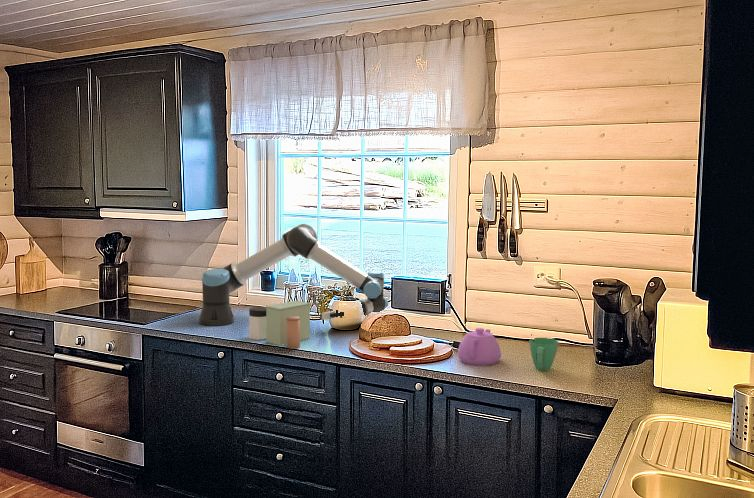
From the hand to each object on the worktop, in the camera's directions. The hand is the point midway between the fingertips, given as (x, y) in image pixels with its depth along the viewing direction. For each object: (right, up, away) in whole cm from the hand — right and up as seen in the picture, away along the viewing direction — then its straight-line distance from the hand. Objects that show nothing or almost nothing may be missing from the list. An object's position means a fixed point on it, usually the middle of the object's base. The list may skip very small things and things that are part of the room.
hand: (323, 316), depth 293 cm
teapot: (+60, -12, -41) cm, 74 cm away
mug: (+80, -14, -53) cm, 97 cm away
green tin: (-13, -8, -13) cm, 20 cm away
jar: (-25, -8, -10) cm, 28 cm away
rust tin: (-10, -10, -24) cm, 28 cm away
